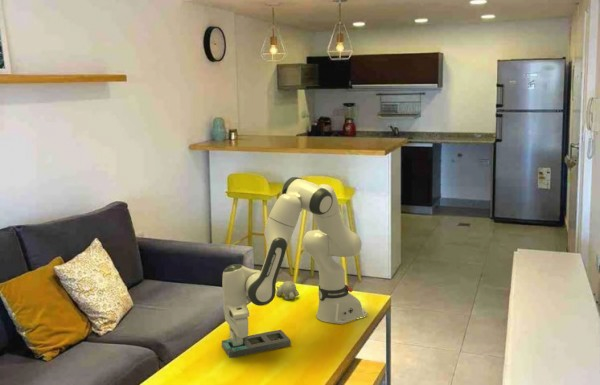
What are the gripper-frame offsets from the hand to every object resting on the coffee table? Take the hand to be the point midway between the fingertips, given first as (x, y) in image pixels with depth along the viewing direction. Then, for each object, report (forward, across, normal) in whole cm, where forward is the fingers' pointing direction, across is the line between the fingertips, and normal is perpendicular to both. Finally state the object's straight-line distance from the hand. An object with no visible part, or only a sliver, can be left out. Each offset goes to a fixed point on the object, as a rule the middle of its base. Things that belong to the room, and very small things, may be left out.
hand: (236, 339), depth 233 cm
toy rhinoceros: (+5, -44, +38) cm, 58 cm away
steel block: (+4, 0, 0) cm, 4 cm away
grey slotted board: (+4, 0, +8) cm, 9 cm away
